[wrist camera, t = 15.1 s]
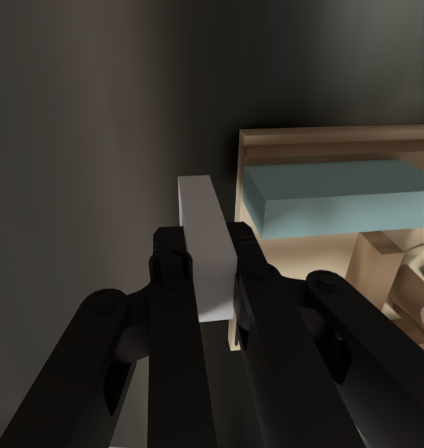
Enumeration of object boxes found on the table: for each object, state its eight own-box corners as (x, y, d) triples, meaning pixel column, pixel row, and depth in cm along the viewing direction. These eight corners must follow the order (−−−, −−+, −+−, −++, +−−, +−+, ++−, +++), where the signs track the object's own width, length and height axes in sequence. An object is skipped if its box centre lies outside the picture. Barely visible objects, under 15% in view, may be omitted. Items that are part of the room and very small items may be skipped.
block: (244, 165, 17) (266, 200, 14) (400, 158, 18) (455, 189, 15) (242, 199, 18) (261, 239, 15) (389, 190, 19) (439, 226, 16)
